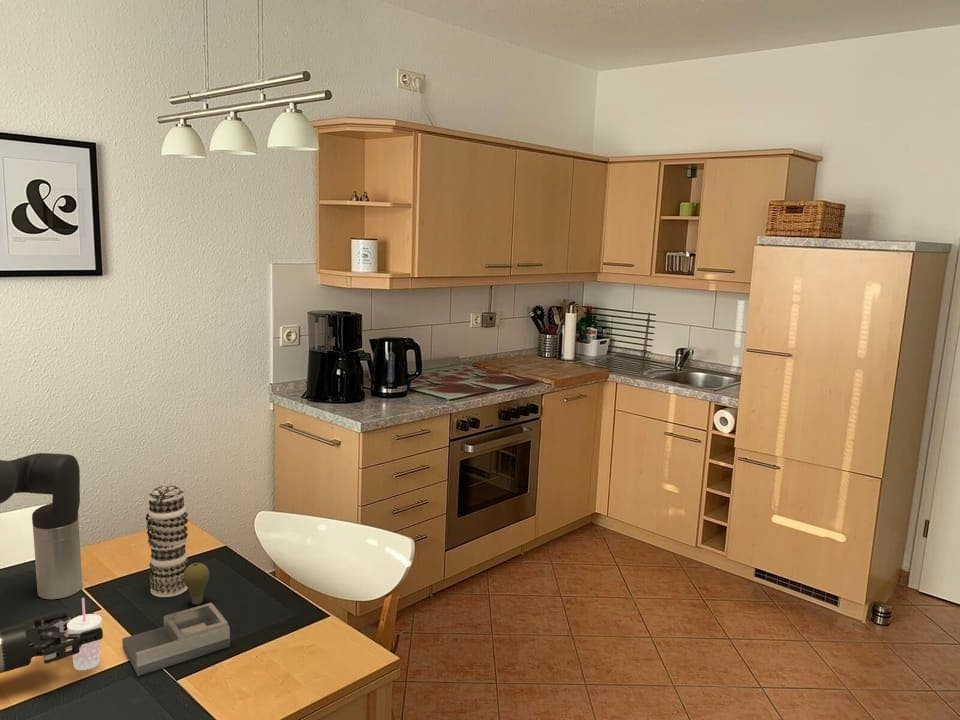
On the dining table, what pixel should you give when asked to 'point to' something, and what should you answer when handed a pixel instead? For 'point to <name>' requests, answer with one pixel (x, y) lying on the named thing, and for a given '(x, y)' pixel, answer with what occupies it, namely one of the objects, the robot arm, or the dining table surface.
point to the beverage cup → (88, 651)
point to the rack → (178, 639)
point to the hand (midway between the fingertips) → (98, 625)
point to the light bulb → (196, 581)
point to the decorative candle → (167, 541)
